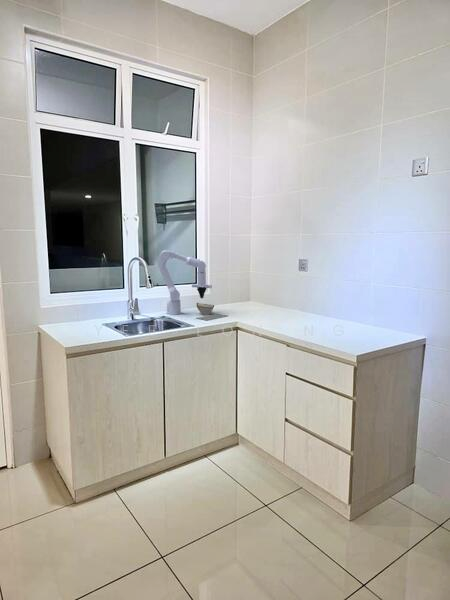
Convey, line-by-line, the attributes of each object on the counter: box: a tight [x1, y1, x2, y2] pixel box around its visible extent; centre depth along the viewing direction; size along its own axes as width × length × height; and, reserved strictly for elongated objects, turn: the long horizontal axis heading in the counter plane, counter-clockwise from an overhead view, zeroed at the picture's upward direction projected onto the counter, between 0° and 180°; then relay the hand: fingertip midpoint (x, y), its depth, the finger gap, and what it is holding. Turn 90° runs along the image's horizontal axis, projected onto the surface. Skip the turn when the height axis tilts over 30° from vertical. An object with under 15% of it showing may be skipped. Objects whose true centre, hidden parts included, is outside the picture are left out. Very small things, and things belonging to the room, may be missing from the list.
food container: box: [196, 302, 215, 316], centre depth 268 cm, size 12×6×10 cm
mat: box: [195, 313, 229, 321], centre depth 256 cm, size 10×20×1 cm, turn 136°
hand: (201, 298), depth 270 cm, fingers closed
